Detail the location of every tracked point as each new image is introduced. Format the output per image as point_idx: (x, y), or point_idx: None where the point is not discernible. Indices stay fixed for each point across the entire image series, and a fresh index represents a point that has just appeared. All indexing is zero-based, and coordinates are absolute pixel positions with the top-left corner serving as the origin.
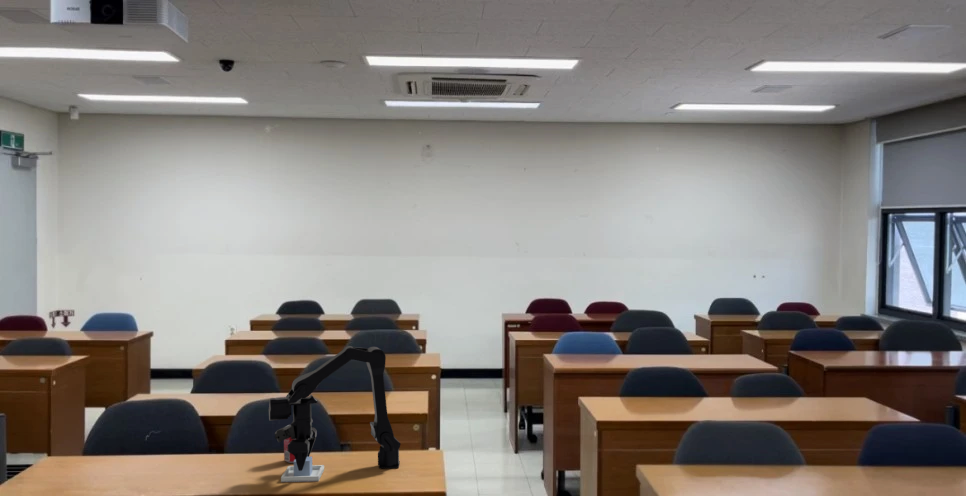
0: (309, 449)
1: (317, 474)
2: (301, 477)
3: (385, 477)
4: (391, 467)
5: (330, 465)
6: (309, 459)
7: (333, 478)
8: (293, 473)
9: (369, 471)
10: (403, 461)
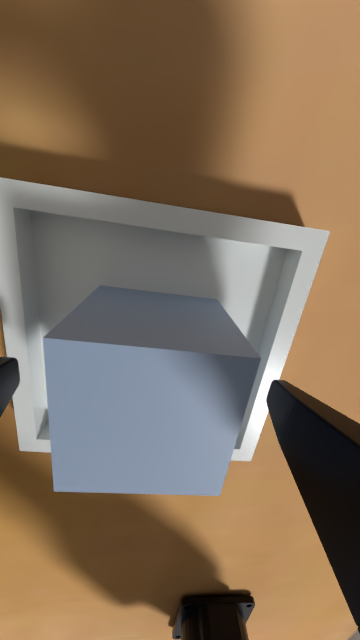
0: (335, 536)
1: None
2: (9, 352)
3: (77, 611)
4: (175, 624)
5: None
6: (116, 485)
7: None
8: (193, 277)
9: (160, 575)
10: None
